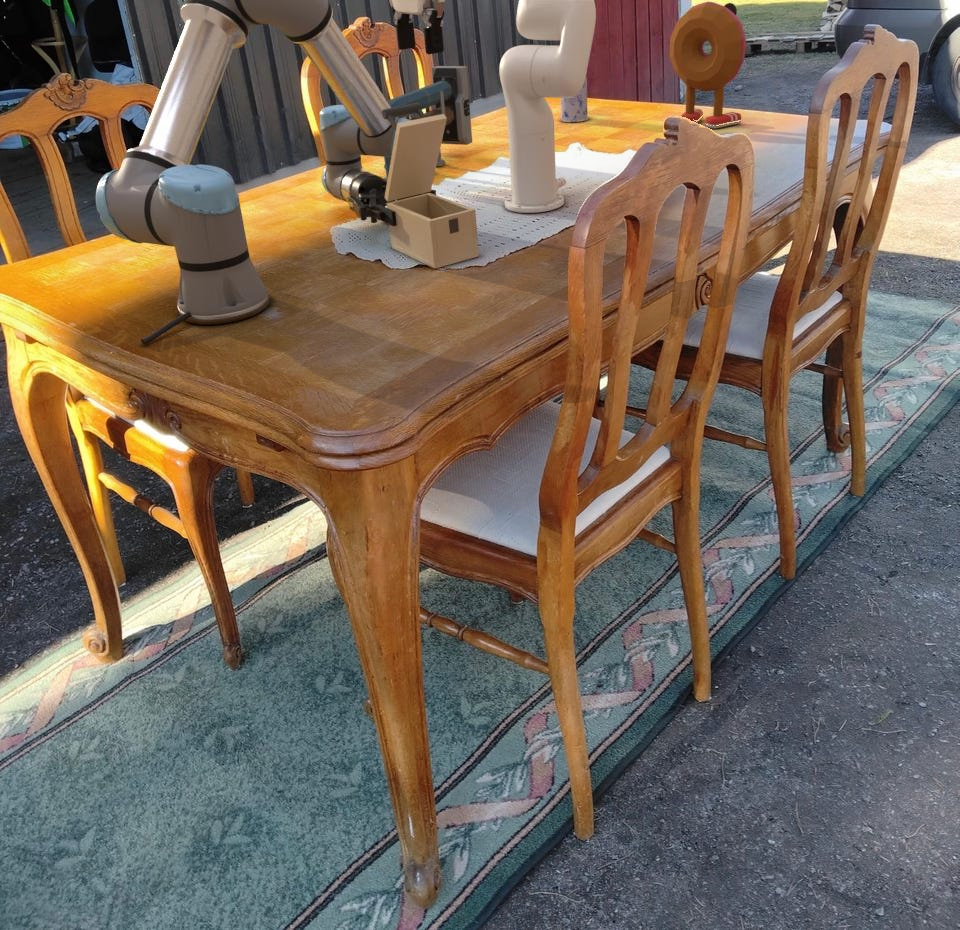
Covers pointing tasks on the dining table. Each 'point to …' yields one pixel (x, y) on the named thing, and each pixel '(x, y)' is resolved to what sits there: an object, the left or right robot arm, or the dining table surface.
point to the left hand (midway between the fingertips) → (418, 213)
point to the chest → (434, 230)
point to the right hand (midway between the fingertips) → (420, 50)
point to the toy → (708, 56)
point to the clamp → (442, 105)
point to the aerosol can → (575, 106)
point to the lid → (413, 151)
